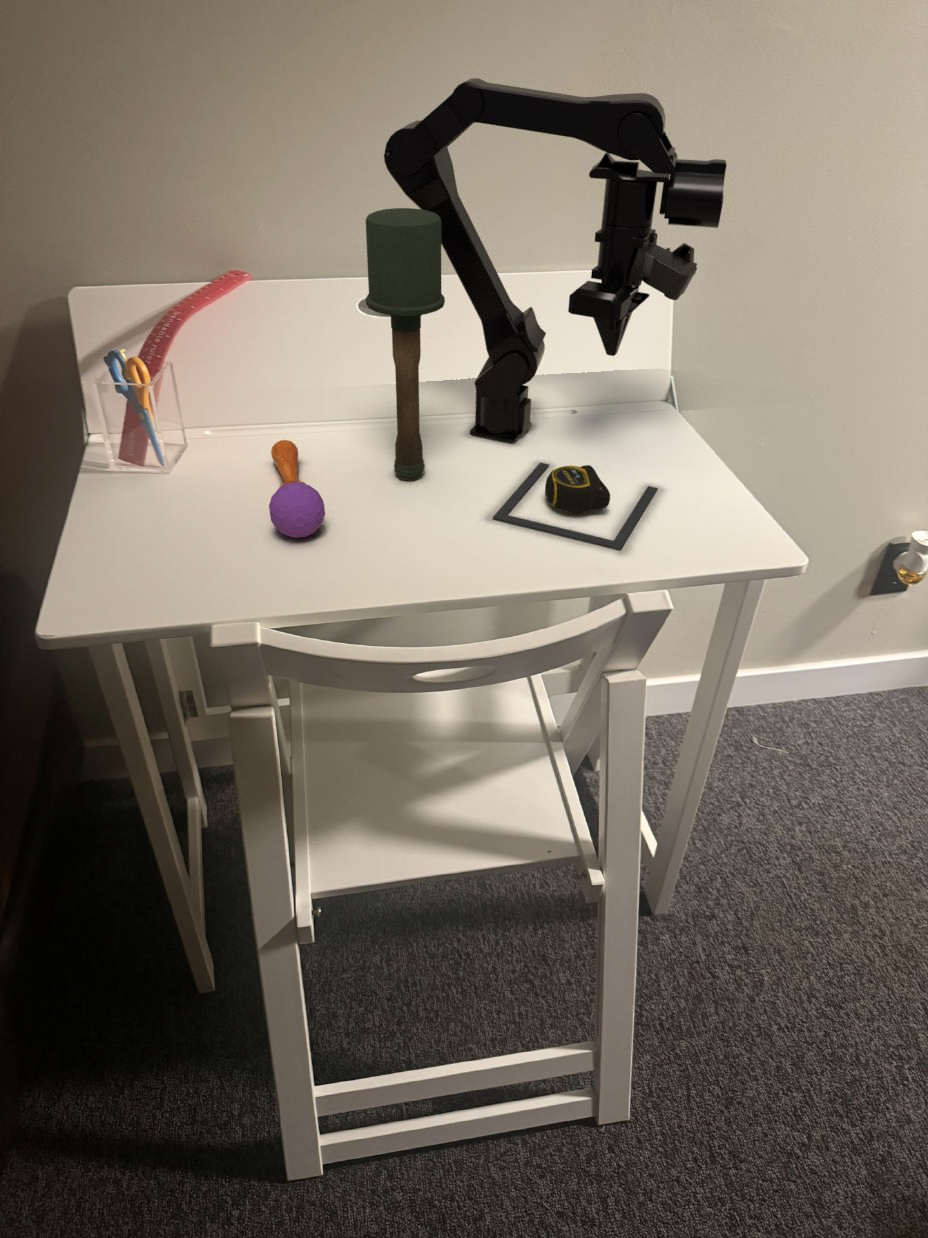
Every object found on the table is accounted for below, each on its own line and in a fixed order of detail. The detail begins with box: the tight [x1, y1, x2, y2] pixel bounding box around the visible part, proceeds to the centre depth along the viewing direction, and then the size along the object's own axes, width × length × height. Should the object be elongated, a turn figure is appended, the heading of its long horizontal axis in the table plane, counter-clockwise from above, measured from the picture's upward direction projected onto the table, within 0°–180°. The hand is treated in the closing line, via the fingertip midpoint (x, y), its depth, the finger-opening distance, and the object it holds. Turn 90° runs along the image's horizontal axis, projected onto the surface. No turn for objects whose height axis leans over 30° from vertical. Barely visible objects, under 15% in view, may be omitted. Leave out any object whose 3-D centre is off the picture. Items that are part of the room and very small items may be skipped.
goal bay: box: [492, 462, 658, 551], centre depth 106 cm, size 15×15×1 cm
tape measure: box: [544, 464, 611, 514], centre depth 105 cm, size 7×7×4 cm
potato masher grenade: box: [365, 207, 446, 482], centre depth 102 cm, size 8×9×30 cm
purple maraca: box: [268, 439, 326, 539], centre depth 104 cm, size 6×6×20 cm
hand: (611, 354), depth 113 cm, fingers closed
